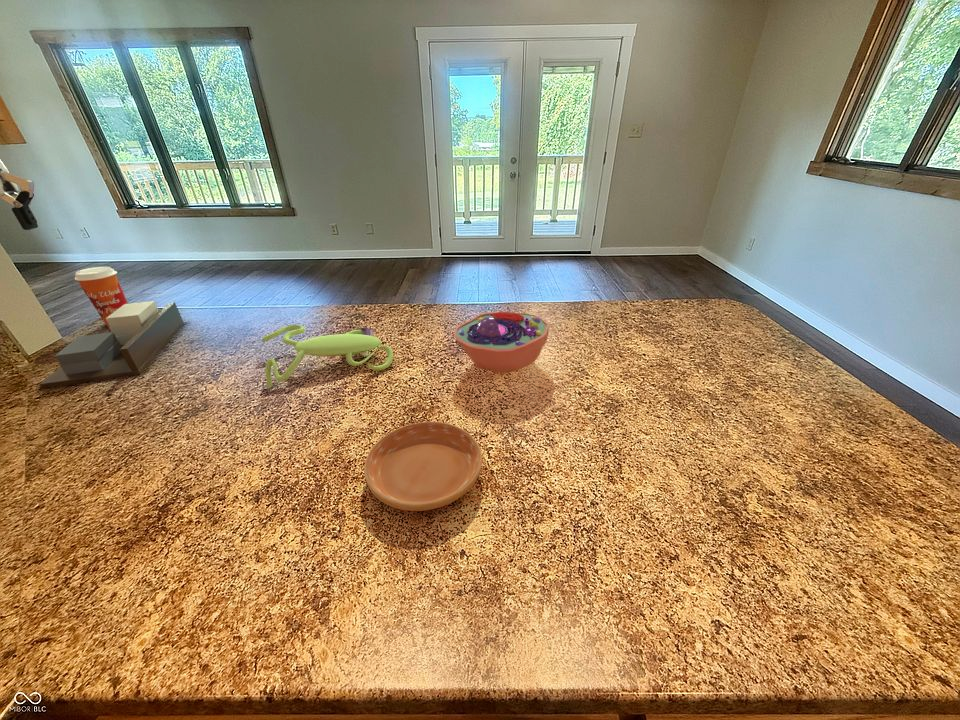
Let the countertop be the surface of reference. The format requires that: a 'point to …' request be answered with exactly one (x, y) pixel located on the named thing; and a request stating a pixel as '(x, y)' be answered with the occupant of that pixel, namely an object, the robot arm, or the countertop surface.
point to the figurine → (327, 348)
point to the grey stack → (89, 353)
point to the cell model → (502, 340)
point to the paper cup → (102, 289)
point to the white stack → (129, 330)
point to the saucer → (423, 466)
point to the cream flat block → (132, 314)
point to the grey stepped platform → (129, 351)
